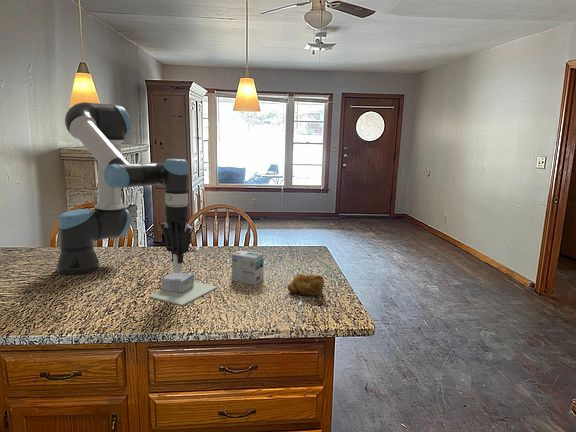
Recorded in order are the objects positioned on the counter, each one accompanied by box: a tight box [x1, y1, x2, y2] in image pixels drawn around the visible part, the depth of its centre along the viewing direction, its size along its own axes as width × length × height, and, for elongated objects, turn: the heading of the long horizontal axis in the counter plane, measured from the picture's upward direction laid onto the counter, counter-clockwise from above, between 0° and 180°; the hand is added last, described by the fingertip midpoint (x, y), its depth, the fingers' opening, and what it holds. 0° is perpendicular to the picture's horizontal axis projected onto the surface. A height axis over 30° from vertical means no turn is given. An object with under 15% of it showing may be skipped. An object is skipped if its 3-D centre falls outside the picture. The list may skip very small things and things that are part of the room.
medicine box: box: [160, 271, 195, 293], centre depth 147 cm, size 8×4×9 cm
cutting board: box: [149, 281, 218, 307], centre depth 144 cm, size 14×19×1 cm
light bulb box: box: [231, 250, 265, 286], centre depth 158 cm, size 11×7×11 cm, turn 65°
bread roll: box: [287, 273, 325, 297], centre depth 148 cm, size 13×10×8 cm
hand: (177, 271), depth 144 cm, fingers closed
